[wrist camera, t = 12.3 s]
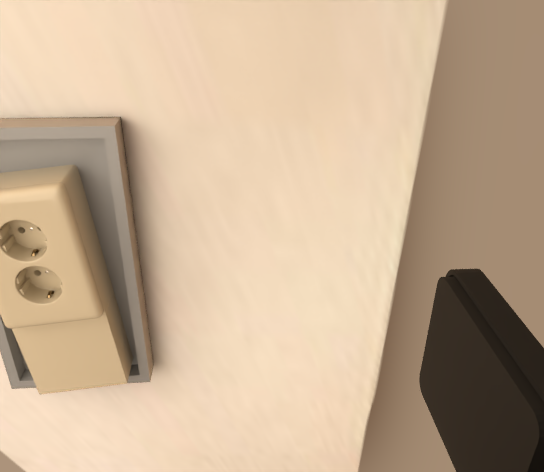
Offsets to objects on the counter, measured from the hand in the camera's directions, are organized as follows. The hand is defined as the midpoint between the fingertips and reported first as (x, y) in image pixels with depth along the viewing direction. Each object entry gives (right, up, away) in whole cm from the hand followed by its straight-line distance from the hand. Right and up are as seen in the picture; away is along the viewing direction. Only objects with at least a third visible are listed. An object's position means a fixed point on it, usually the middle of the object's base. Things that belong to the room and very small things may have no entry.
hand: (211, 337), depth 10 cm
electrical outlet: (-15, -1, +31) cm, 34 cm away
